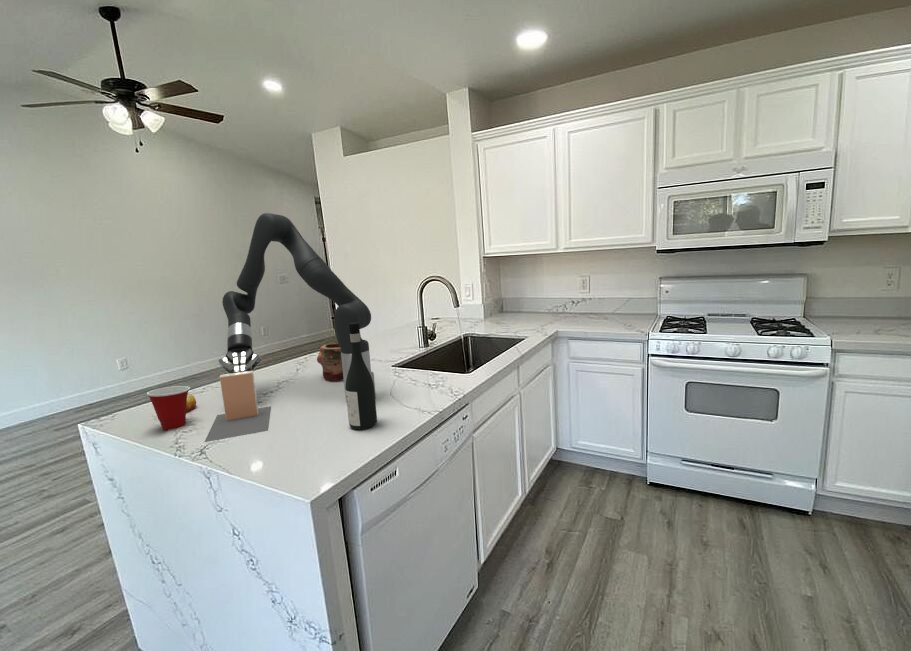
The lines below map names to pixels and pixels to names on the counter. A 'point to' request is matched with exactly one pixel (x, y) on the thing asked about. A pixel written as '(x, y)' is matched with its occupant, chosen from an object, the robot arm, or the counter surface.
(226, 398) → the cream rectangular block
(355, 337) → the wine bottle
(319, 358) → the decorative planter
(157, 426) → the counter surface
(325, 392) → the counter surface
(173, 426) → the plastic cup
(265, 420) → the rubber mat
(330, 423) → the counter surface
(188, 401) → the fruit
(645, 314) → the counter surface
